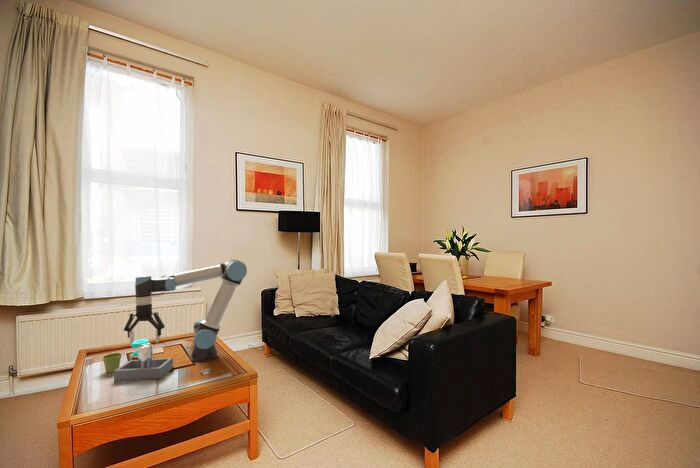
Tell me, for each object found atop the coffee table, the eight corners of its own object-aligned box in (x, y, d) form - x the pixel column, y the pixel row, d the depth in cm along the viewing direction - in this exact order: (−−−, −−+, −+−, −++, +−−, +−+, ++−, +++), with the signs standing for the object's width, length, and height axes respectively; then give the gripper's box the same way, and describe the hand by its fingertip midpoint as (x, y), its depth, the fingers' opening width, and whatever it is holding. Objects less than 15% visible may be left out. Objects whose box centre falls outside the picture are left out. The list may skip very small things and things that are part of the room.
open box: (173, 368, 190) (172, 357, 190) (160, 379, 175) (160, 368, 175) (130, 370, 188) (130, 360, 188) (113, 382, 173) (113, 370, 173)
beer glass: (142, 370, 184) (142, 343, 185) (155, 369, 185) (155, 343, 185) (135, 375, 178) (135, 347, 178) (149, 374, 178) (148, 347, 178)
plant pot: (126, 368, 191) (126, 353, 191) (109, 375, 182) (109, 359, 182) (114, 366, 194) (114, 352, 194) (98, 373, 185) (98, 357, 185)
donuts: (135, 344, 204) (128, 341, 210) (135, 360, 204) (128, 357, 209) (152, 340, 212) (145, 337, 218) (152, 355, 212) (145, 352, 218)
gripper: (170, 301, 187) (171, 339, 187) (123, 303, 184) (124, 341, 184) (164, 304, 179) (165, 343, 179) (115, 306, 177) (116, 346, 177)
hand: (144, 342), depth 182 cm, fingers open, 13 cm apart
